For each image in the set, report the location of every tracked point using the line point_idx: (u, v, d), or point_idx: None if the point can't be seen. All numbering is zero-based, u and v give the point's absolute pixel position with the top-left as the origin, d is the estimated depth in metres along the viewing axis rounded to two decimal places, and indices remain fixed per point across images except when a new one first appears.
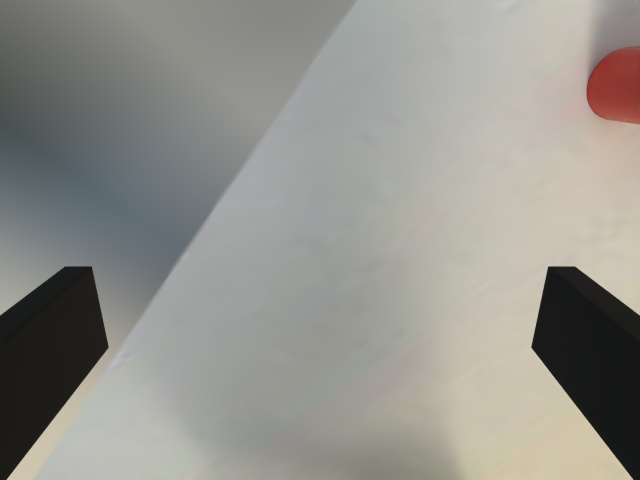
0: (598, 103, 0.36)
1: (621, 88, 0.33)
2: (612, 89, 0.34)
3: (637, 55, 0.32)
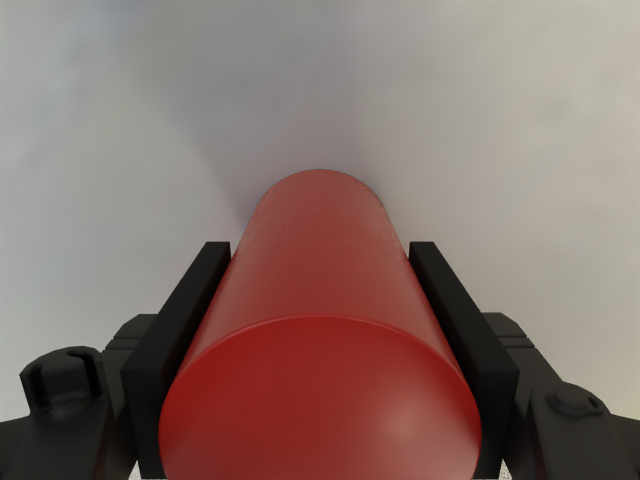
0: None
1: None
2: None
3: (245, 232, 0.14)
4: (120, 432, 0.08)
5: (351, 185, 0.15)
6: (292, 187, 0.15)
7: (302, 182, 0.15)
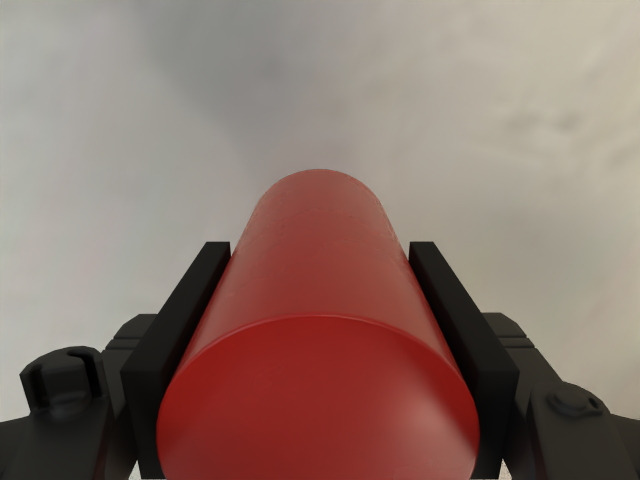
0: None
1: None
2: None
3: (244, 232, 0.14)
4: (120, 432, 0.08)
5: (350, 185, 0.15)
6: (291, 187, 0.15)
7: (301, 182, 0.15)
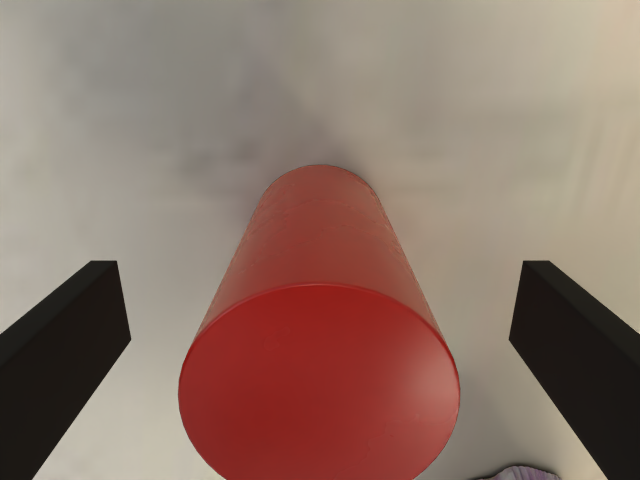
0: None
1: None
2: None
3: (250, 222, 0.15)
4: None
5: (348, 179, 0.17)
6: (294, 180, 0.16)
7: (303, 176, 0.16)
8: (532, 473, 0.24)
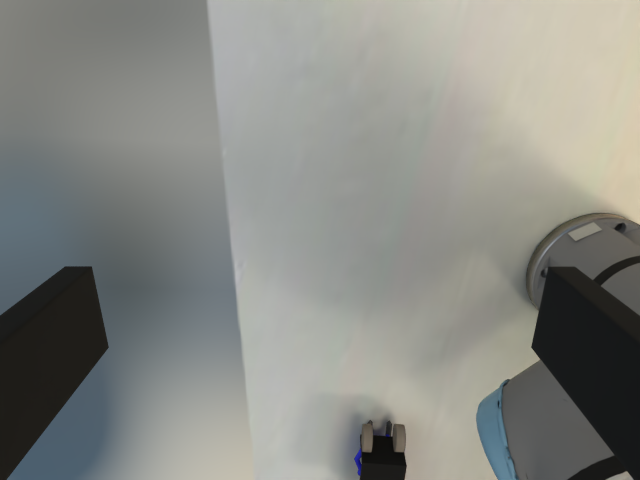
0: None
1: None
2: None
3: None
4: None
5: None
6: None
7: None
8: None
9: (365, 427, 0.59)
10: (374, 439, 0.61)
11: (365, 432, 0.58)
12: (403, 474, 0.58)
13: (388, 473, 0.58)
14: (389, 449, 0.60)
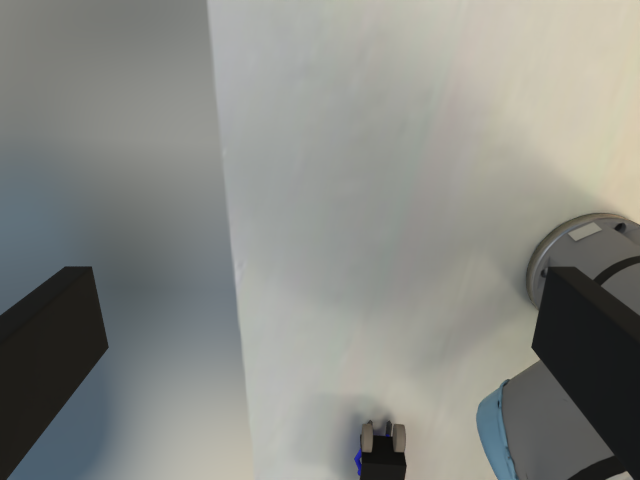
0: None
1: None
2: None
3: None
4: None
5: None
6: None
7: None
8: None
9: (365, 427, 0.59)
10: (374, 439, 0.61)
11: (365, 432, 0.58)
12: (403, 474, 0.58)
13: (388, 473, 0.58)
14: (389, 449, 0.60)
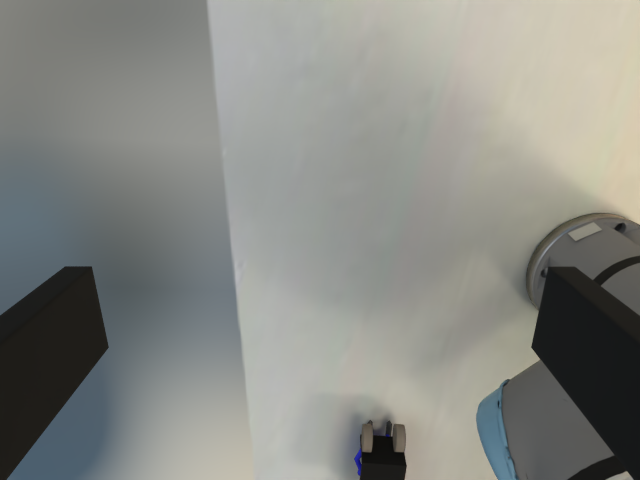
0: None
1: None
2: None
3: None
4: None
5: None
6: None
7: None
8: None
9: (365, 427, 0.59)
10: (374, 439, 0.61)
11: (365, 432, 0.58)
12: (403, 474, 0.58)
13: (388, 473, 0.58)
14: (389, 449, 0.60)
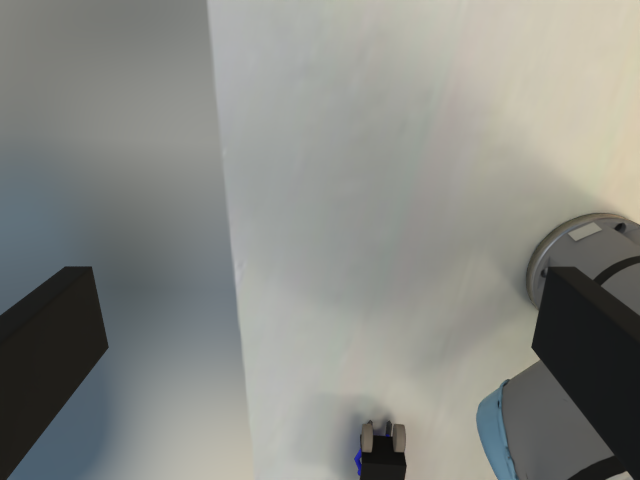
0: None
1: None
2: None
3: None
4: None
5: None
6: None
7: None
8: None
9: (365, 427, 0.59)
10: (374, 439, 0.61)
11: (365, 432, 0.58)
12: (403, 474, 0.58)
13: (388, 473, 0.58)
14: (389, 449, 0.60)
